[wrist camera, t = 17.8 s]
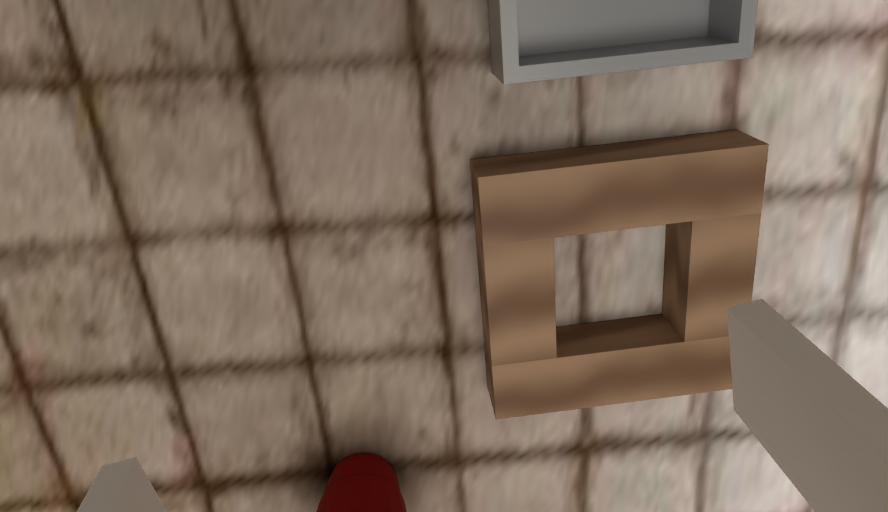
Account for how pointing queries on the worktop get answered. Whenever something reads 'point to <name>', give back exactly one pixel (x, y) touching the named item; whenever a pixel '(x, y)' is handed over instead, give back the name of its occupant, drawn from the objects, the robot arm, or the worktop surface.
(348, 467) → the plastic cup
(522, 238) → the walnut frame
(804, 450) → the robot arm
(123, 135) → the worktop surface
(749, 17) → the slate tray
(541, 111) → the worktop surface
